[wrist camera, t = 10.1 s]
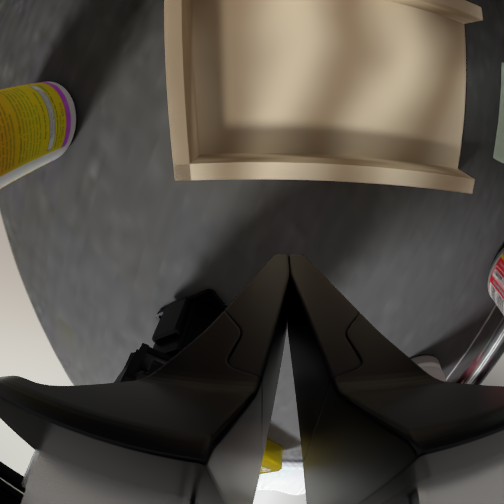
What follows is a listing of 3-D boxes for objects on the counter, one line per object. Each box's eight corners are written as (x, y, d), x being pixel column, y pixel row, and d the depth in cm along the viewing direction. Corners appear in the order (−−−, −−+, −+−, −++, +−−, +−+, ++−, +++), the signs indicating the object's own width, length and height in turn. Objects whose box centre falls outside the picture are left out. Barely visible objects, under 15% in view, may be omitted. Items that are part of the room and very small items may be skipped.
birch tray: (188, 167, 20) (175, 181, 17) (179, -13, 13) (164, -26, 11) (451, 179, 18) (472, 193, 16) (459, 13, 12) (481, 7, 9)
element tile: (157, 426, 41) (150, 451, 37) (227, 410, 36) (222, 442, 32) (218, 459, 47) (215, 481, 43) (287, 447, 41) (286, 472, 37)
